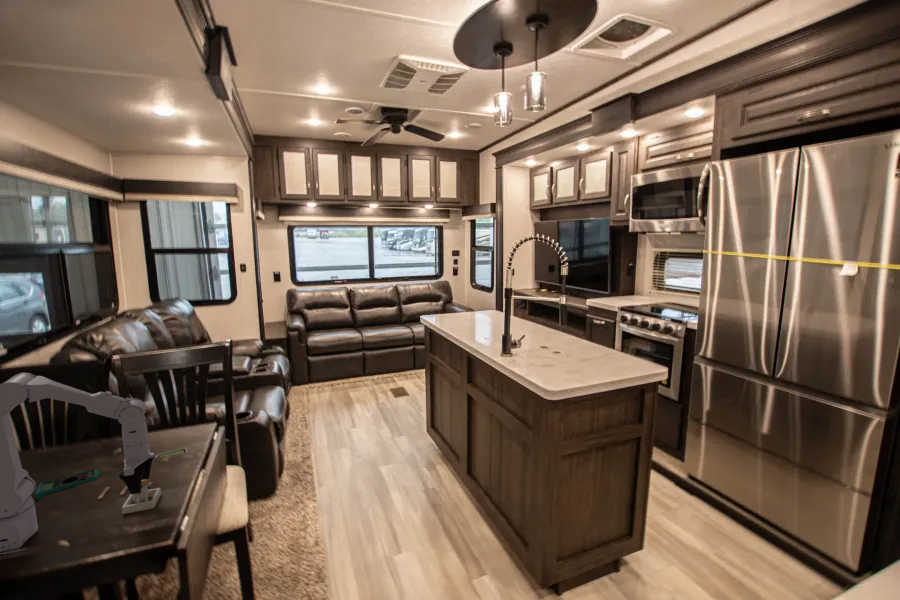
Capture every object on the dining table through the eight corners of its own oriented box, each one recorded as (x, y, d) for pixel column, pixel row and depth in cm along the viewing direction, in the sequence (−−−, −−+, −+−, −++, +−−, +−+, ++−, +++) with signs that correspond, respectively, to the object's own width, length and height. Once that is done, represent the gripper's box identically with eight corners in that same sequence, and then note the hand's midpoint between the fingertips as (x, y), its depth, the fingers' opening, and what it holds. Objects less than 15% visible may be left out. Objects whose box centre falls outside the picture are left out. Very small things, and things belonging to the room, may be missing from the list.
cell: (145, 509, 118) (143, 489, 117) (131, 511, 117) (129, 490, 116) (152, 501, 122) (149, 482, 121) (138, 503, 121) (136, 483, 120)
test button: (146, 488, 127) (145, 482, 126) (134, 490, 126) (133, 484, 125) (149, 483, 130) (148, 477, 129) (138, 485, 128) (137, 479, 128)
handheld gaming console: (156, 472, 137) (154, 454, 149) (157, 476, 137) (155, 458, 149) (191, 462, 143) (186, 446, 155) (191, 466, 143) (187, 449, 155)
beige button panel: (150, 498, 124) (149, 492, 124) (93, 509, 119) (92, 503, 119) (160, 479, 134) (160, 474, 134) (108, 489, 129) (108, 483, 129)
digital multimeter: (99, 484, 133) (98, 476, 132) (35, 502, 123) (34, 493, 123) (100, 474, 138) (99, 466, 138) (39, 491, 129) (37, 482, 128)
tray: (154, 512, 118) (152, 501, 117) (123, 518, 115) (121, 507, 114) (161, 498, 124) (160, 487, 124) (132, 503, 122) (131, 492, 121)
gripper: (143, 451, 112) (148, 496, 113) (159, 429, 125) (163, 470, 127) (112, 455, 109) (117, 502, 111) (132, 433, 123) (136, 475, 124)
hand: (140, 485), depth 119 cm, fingers open, 7 cm apart
